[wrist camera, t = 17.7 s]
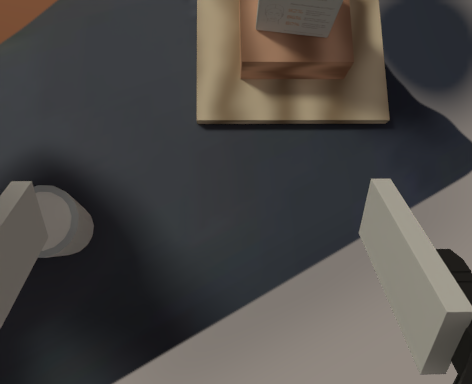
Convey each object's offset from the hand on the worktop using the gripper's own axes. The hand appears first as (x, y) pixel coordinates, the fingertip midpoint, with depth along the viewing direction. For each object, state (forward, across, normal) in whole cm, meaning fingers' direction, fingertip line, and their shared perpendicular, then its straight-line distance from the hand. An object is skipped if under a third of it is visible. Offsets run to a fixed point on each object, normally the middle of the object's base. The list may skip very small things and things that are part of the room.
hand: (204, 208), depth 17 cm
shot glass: (+23, -16, -19) cm, 34 cm away
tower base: (+39, +9, -3) cm, 40 cm away
